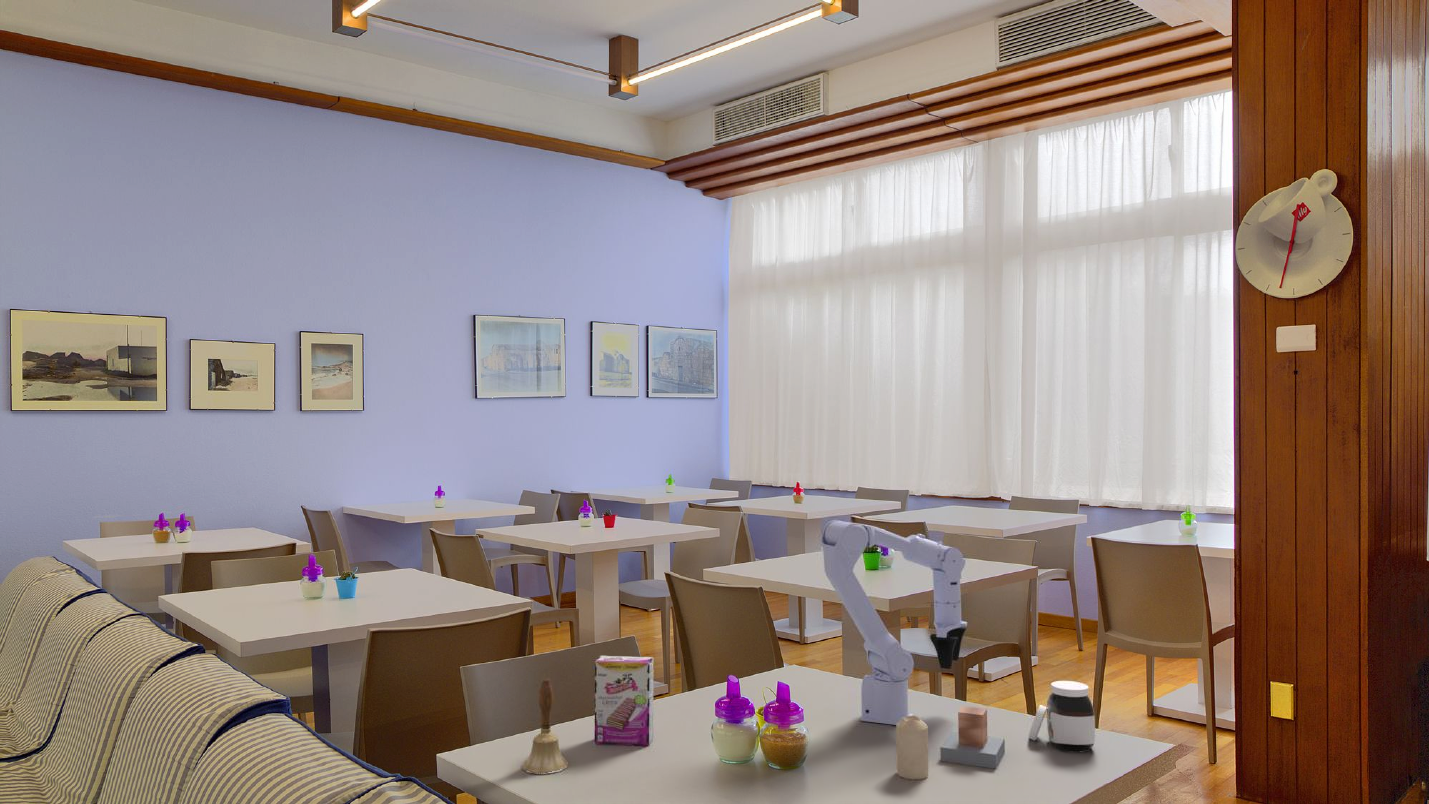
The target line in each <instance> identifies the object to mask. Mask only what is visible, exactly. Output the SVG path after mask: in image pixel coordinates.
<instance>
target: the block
mask: <svg viewBox="0 0 1429 804" xmlns="http://www.w3.org/2000/svg"><path fill="white" fill-rule="evenodd" d="M957 721H958V724H957V726H958V727H957V729H958V734H959V745H964V746H972V747H979V748H984V746H985V744H986V743H987V741H988V739H987V736H988V708H983V707H977V706H976V707H975V706H967V705H962V706H961V708H960V709H959V711H958V712H957Z"/></svg>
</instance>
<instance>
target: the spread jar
mask: <svg viewBox="0 0 1429 804" xmlns="http://www.w3.org/2000/svg"><path fill="white" fill-rule="evenodd" d="M1050 689H1051V693H1050V694H1049V696H1048V697H1047V701H1046V706H1045V705H1041V704H1039V706H1038V709H1037V711H1036V713H1035V717H1034V719H1033V722H1032V725H1031V728H1030V729H1029V733H1028V739H1031V740H1033V741H1036V739H1037V738H1038V736H1039V732H1040V729H1041V727H1042V724H1043V722H1044V719H1045V717H1046V726H1047V727H1046V729H1047V736H1048V739H1049V742H1050V744H1051V745H1052V747H1054V748H1056V749H1058V750H1061V751H1064V752H1071V751H1073V752H1074V753H1081V752H1080V751H1083V752H1087V751H1090V750H1091V749H1092V748H1093V747H1094V745H1095V742H1096V741H1095V740H1096V719H1095V718H1096V717H1095V709H1094V707H1093V703H1092V701H1091V699H1090V697H1089V692H1090V690H1089V689H1090V688H1089V685H1087V684H1085V683H1082V682H1078V681H1072V680H1058V681H1054V682H1051V683H1050Z"/></svg>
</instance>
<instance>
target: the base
mask: <svg viewBox="0 0 1429 804" xmlns="http://www.w3.org/2000/svg"><path fill="white" fill-rule="evenodd" d="M987 739H988V741H987V743H986V744H985V746H984V748H979V747H972V746H964V745H959V734H958V732H957V731H951V732H950V733H949V735H948V736H946V738H945V740H944V741H943V743H942V744H941V746H940V748H939V749H940V750H939V751H940V753H939V754H940V761H941V762H945V761H947V763H954V764H960V765H968V766H975V767H982V768H987V769H988V768H989V769H998V766H999V764H1000V762H1001V761H1002V758H1003V756H1004V755H1005V752H1006V751H1005V750H1006V749H1005V747H1006V745H1005V742H1006V741H1005V738H1003V737H995V736H988V735H987Z"/></svg>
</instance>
